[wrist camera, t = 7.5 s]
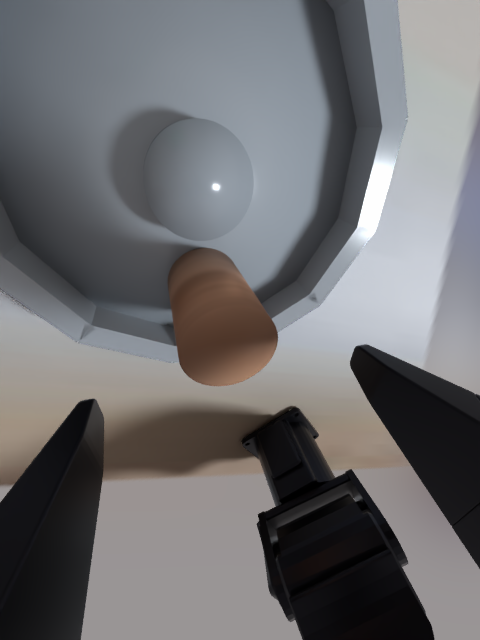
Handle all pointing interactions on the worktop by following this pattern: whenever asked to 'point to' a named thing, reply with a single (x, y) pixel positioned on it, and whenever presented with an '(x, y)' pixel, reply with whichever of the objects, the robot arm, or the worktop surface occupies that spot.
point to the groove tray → (190, 152)
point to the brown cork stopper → (218, 320)
